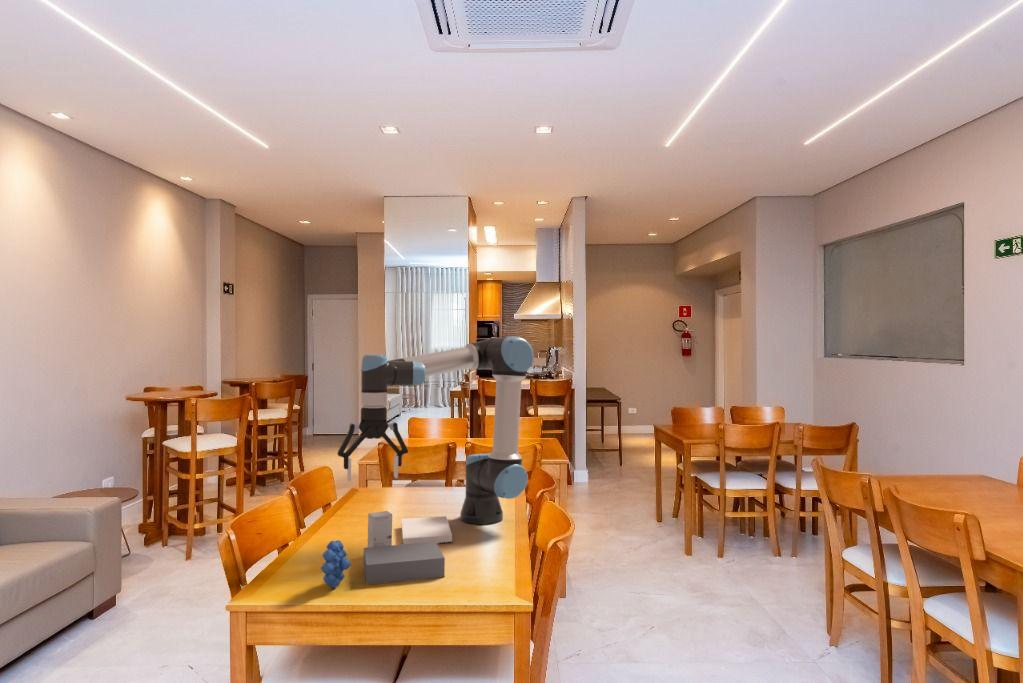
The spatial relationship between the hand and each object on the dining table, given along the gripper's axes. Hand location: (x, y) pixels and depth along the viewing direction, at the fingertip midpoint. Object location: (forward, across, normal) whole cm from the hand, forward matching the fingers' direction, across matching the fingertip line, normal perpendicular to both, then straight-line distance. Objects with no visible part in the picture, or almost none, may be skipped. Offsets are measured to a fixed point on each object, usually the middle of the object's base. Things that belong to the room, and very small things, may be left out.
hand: (372, 479), depth 178 cm
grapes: (+22, +12, +24) cm, 34 cm away
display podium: (+22, -6, +18) cm, 29 cm away
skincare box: (+22, -2, +3) cm, 22 cm away
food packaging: (+22, -19, -12) cm, 32 cm away
